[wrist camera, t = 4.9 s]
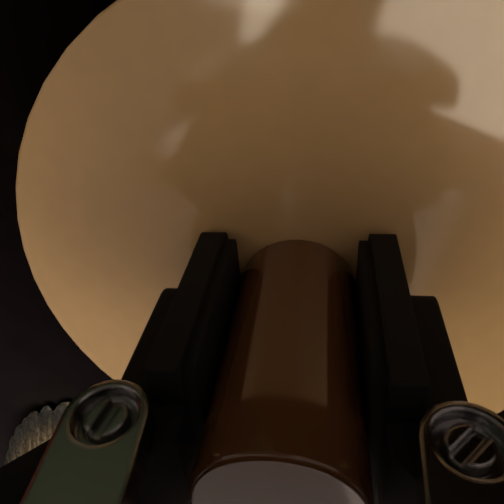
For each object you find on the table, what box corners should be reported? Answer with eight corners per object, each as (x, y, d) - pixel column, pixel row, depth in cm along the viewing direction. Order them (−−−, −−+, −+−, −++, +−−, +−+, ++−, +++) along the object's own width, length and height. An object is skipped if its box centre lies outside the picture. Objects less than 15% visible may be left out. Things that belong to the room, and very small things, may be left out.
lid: (292, -311, 6) (123, -1451, 1) (726, 260, 10) (1140, 599, 5) (-33, 247, 13) (-270, 454, 8) (303, 463, 17) (293, 697, 12)
